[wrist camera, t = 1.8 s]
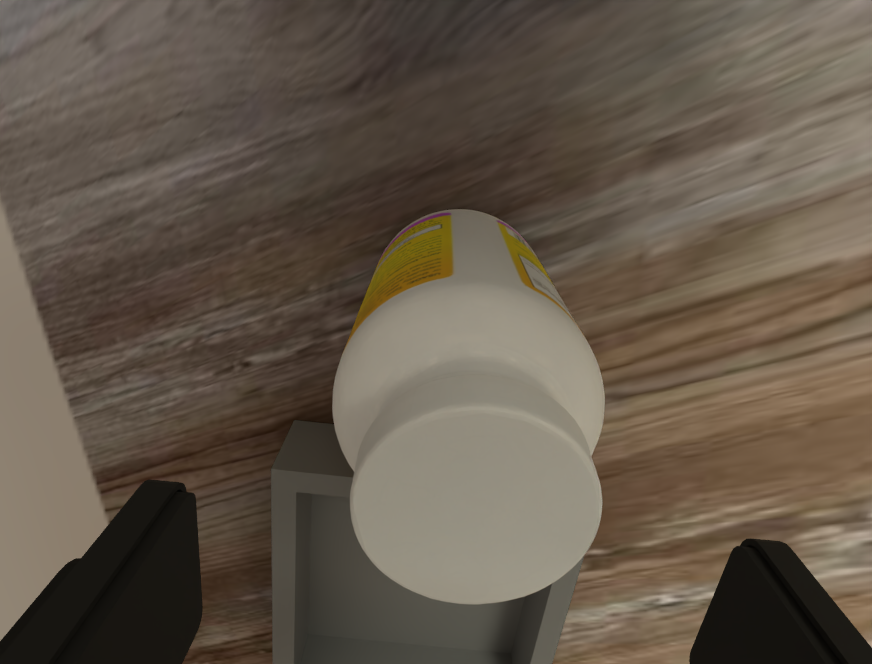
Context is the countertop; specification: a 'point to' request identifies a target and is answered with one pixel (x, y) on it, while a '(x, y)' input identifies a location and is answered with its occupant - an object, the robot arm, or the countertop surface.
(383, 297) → the supplement bottle
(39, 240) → the countertop surface
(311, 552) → the charcoal tray
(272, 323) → the countertop surface
